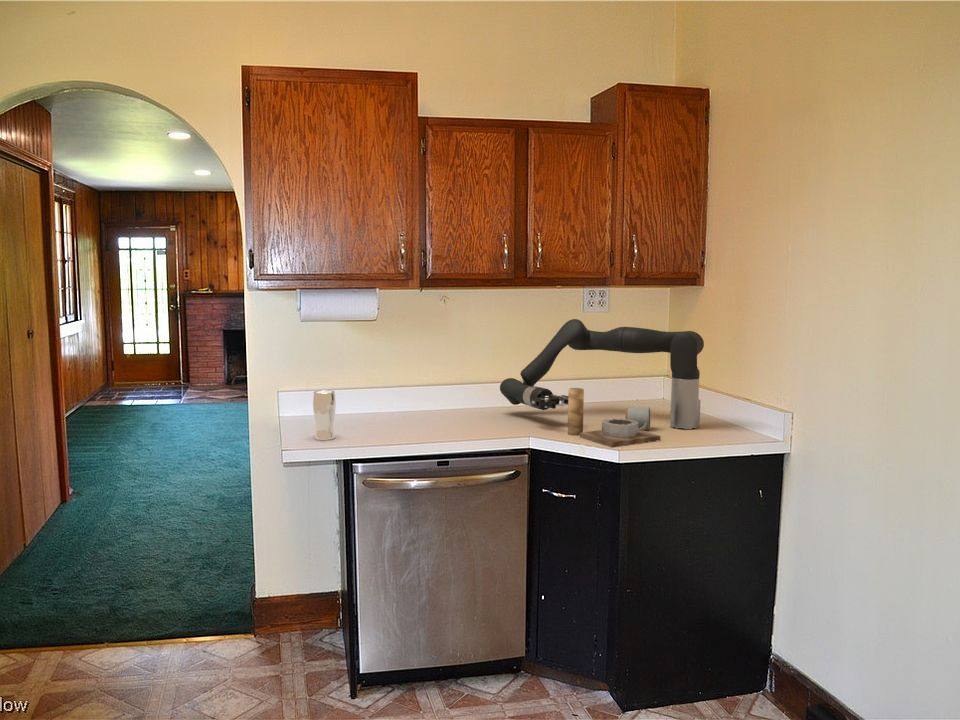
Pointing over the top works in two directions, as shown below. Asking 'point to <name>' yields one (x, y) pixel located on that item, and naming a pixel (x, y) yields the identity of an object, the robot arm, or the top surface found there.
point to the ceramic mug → (639, 417)
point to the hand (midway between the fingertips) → (565, 404)
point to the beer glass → (324, 414)
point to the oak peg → (575, 411)
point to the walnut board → (613, 442)
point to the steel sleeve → (620, 428)
